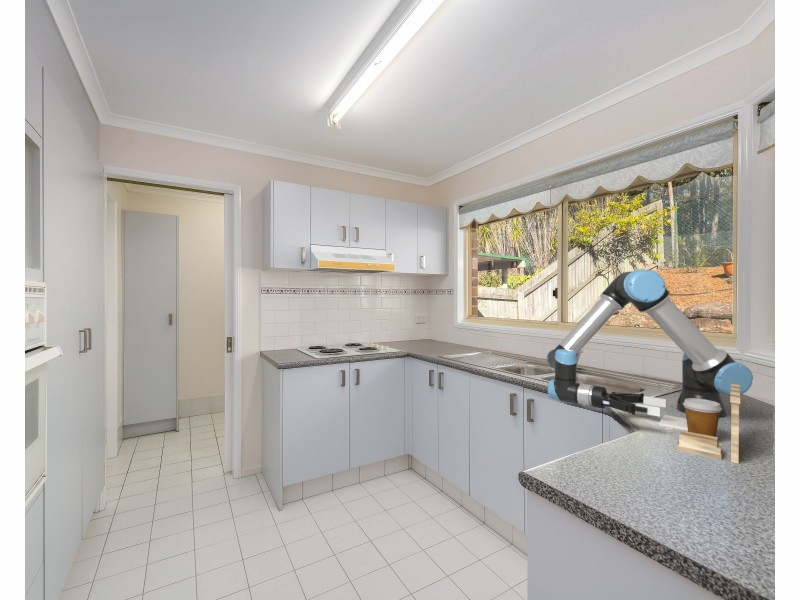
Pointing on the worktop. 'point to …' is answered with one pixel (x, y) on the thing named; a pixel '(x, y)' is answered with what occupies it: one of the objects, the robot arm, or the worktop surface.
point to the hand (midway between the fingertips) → (663, 407)
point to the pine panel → (735, 422)
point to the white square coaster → (674, 422)
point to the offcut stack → (699, 445)
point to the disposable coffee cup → (702, 416)
